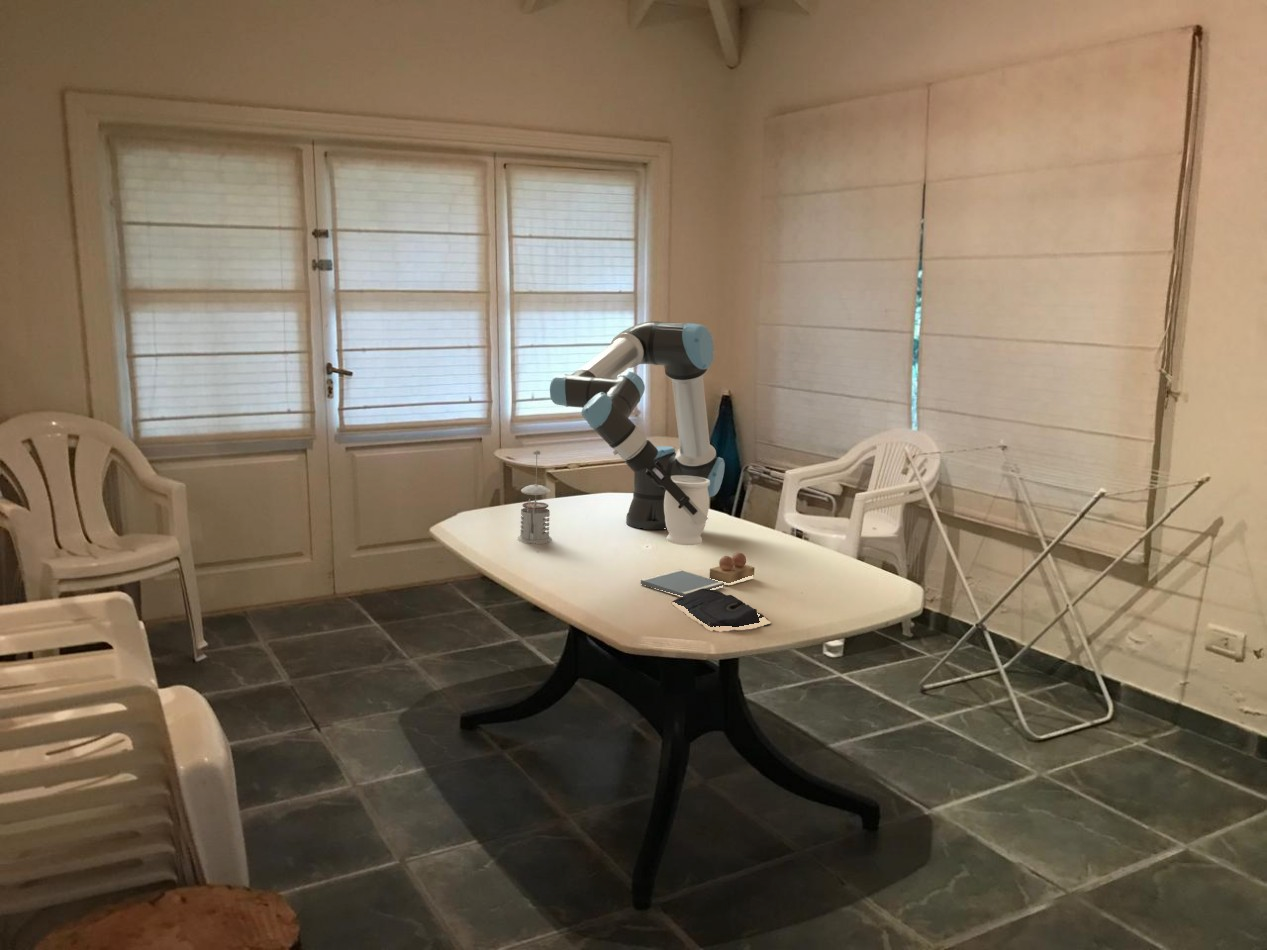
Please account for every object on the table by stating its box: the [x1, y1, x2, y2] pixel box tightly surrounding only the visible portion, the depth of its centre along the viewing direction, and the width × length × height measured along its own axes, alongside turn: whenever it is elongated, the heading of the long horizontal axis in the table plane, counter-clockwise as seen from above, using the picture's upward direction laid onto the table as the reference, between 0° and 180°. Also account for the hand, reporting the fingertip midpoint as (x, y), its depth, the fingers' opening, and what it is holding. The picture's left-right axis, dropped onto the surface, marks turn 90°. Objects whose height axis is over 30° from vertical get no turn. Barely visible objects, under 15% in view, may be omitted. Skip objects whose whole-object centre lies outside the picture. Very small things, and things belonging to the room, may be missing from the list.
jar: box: [664, 475, 710, 546], centre depth 240 cm, size 11×10×15 cm
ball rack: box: [709, 552, 755, 583], centre depth 250 cm, size 10×6×6 cm, turn 136°
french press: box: [517, 449, 553, 545], centre depth 277 cm, size 10×12×25 cm
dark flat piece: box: [672, 588, 765, 627], centre depth 224 cm, size 15×22×5 cm
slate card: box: [640, 569, 725, 596], centre depth 243 cm, size 14×14×1 cm
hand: (697, 516), depth 240 cm, fingers closed on jar, 10 cm apart
